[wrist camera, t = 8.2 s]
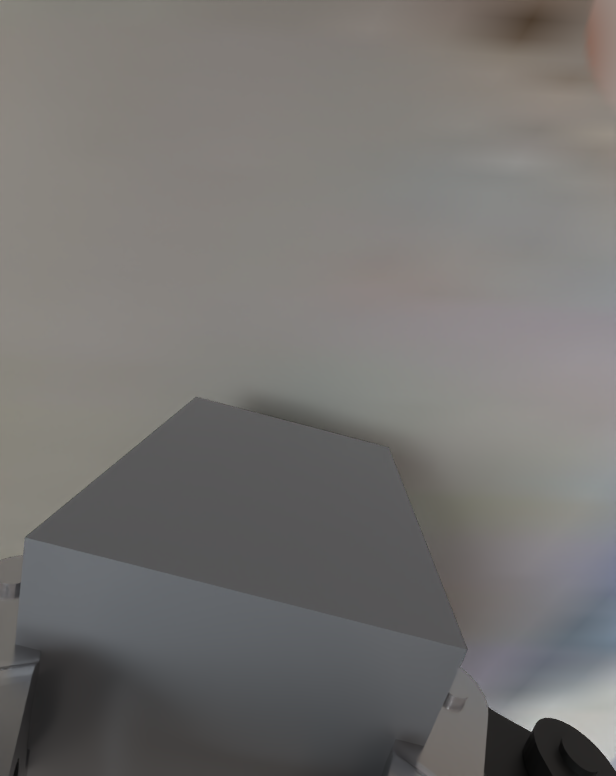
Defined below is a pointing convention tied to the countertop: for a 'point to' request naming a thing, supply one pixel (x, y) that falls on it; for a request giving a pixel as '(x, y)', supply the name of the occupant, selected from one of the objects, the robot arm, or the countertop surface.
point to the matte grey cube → (235, 608)
